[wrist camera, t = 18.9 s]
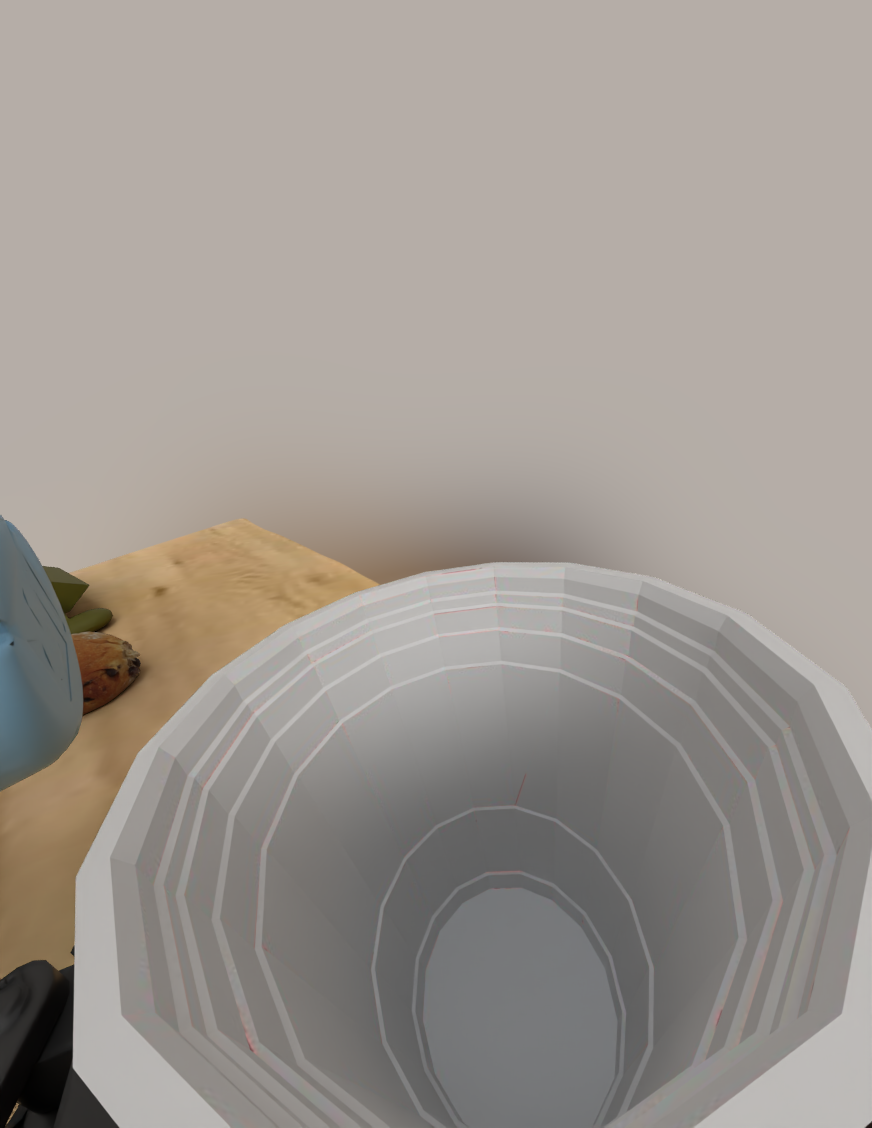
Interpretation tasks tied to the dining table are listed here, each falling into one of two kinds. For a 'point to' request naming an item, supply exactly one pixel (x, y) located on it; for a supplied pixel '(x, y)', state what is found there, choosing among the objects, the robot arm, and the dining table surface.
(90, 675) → the bread roll
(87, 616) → the spaceship
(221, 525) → the dining table surface
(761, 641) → the plastic cup
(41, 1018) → the robot arm
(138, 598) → the dining table surface
